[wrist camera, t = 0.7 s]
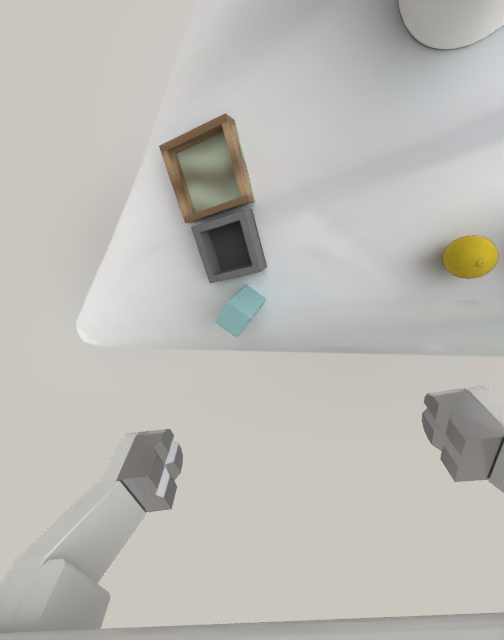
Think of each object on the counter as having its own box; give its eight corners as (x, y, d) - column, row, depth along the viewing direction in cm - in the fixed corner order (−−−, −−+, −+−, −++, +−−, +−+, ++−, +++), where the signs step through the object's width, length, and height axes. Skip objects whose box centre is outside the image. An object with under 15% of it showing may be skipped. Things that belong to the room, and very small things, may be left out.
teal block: (246, 285, 52) (227, 301, 43) (266, 298, 52) (250, 318, 43) (235, 302, 54) (215, 322, 45) (254, 315, 54) (237, 337, 45)
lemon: (449, 278, 42) (471, 293, 35) (427, 250, 41) (445, 260, 34) (489, 254, 39) (521, 265, 32) (466, 224, 39) (494, 229, 31)
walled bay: (171, 149, 47) (159, 146, 43) (234, 120, 42) (225, 113, 39) (195, 221, 50) (185, 223, 47) (255, 201, 46) (248, 201, 43)
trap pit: (201, 225, 50) (191, 227, 47) (251, 209, 46) (244, 209, 43) (218, 278, 53) (209, 283, 50) (266, 266, 49) (261, 271, 46)
